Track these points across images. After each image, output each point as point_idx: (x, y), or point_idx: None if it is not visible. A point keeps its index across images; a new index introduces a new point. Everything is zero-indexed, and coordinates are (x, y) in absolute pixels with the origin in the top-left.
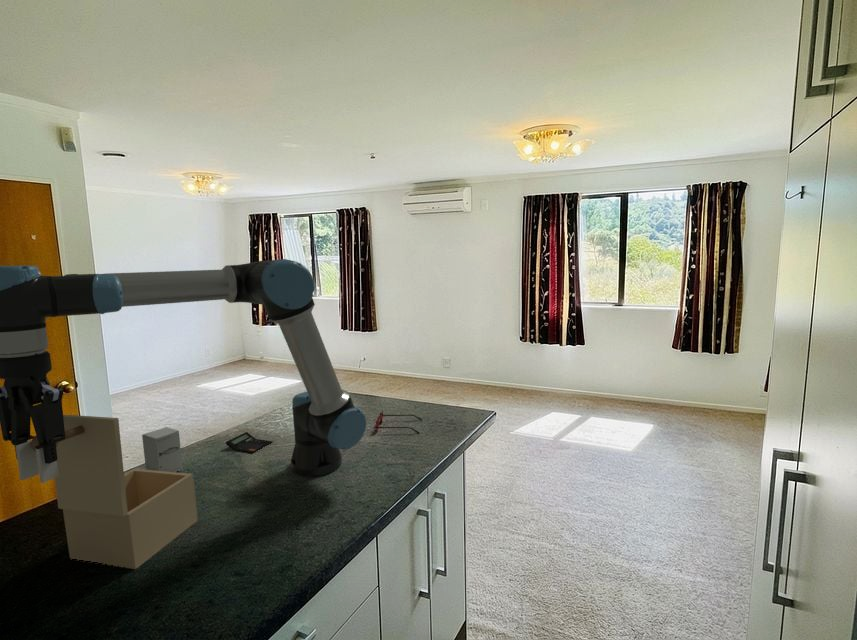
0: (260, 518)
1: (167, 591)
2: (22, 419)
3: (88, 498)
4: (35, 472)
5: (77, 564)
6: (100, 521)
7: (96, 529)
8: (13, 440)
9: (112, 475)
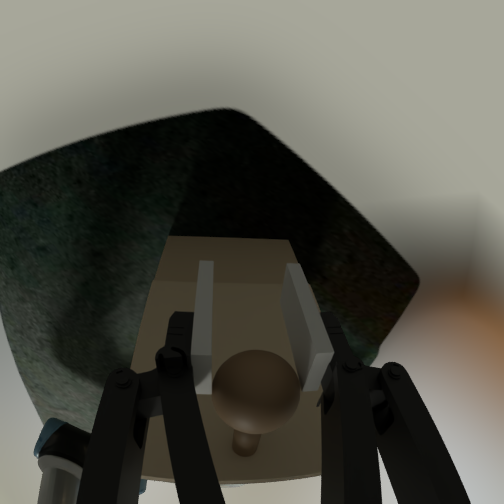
0: (101, 337)
1: (89, 207)
2: (332, 473)
3: (234, 302)
4: (283, 299)
5: (266, 232)
6: (221, 277)
7: (232, 268)
8: (350, 371)
9: (156, 342)
